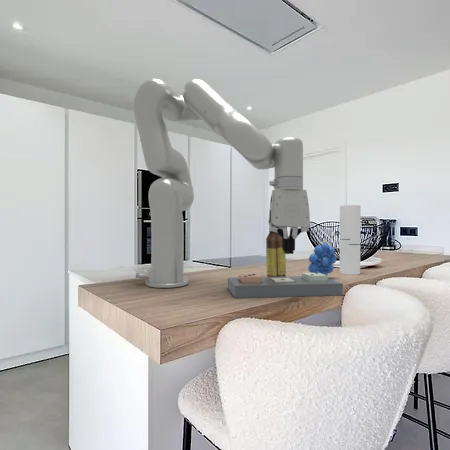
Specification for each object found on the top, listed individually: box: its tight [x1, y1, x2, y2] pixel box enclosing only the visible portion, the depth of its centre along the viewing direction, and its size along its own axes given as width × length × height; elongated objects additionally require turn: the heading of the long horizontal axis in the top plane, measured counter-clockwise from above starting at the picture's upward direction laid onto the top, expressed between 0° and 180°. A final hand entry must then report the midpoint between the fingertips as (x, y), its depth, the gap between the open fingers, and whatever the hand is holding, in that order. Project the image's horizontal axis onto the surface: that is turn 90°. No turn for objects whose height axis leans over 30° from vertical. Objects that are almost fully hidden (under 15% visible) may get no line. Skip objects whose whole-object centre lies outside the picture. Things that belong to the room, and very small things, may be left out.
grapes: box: [307, 242, 338, 276], centre depth 106 cm, size 12×7×12 cm, turn 117°
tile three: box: [238, 273, 262, 283], centre depth 84 cm, size 5×5×3 cm
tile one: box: [271, 278, 295, 283], centre depth 86 cm, size 5×5×3 cm
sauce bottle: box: [265, 223, 287, 277], centre depth 105 cm, size 6×6×20 cm
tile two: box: [301, 272, 328, 282], centre depth 87 cm, size 5×5×3 cm
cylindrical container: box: [339, 204, 362, 276], centre depth 118 cm, size 7×7×25 cm
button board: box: [227, 275, 344, 299], centre depth 86 cm, size 28×12×3 cm, turn 98°
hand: (288, 253), depth 86 cm, fingers closed
